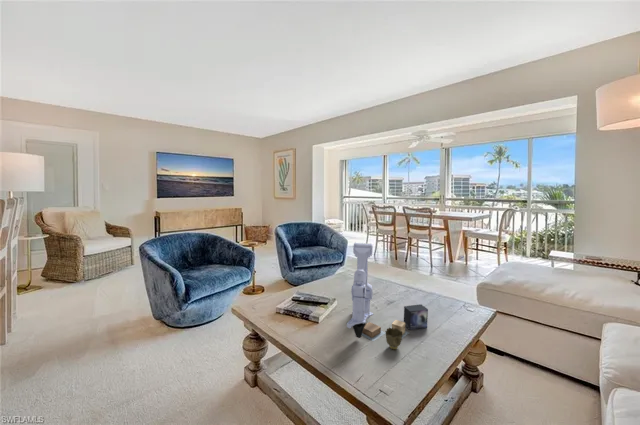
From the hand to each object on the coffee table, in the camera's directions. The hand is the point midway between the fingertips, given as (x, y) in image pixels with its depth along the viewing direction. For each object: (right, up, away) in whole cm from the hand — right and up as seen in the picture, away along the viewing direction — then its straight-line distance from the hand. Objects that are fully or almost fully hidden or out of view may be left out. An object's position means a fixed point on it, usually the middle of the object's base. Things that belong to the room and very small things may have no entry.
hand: (358, 336), depth 132 cm
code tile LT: (+7, -1, +7) cm, 10 cm away
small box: (+32, -1, +13) cm, 34 cm away
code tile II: (+21, -1, +6) cm, 22 cm away
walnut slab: (+7, -1, +7) cm, 10 cm away
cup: (+15, -2, -6) cm, 17 cm away
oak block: (+21, -1, +6) cm, 22 cm away
